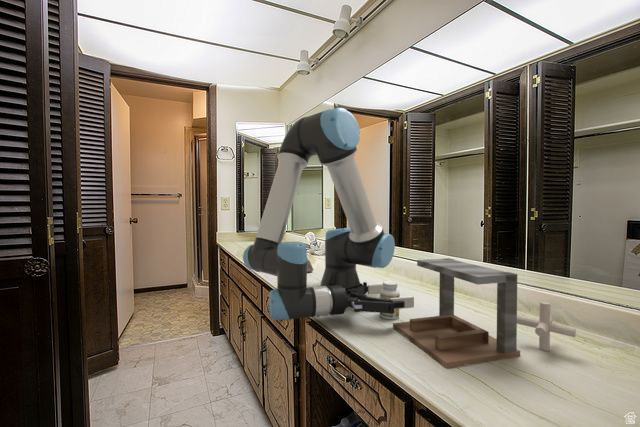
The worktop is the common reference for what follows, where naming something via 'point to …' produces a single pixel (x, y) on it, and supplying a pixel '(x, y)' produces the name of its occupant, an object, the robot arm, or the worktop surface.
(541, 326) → the pipe connector
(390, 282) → the supplement bottle
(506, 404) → the worktop surface
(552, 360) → the worktop surface
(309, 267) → the pumice stone
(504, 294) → the keeper holder
